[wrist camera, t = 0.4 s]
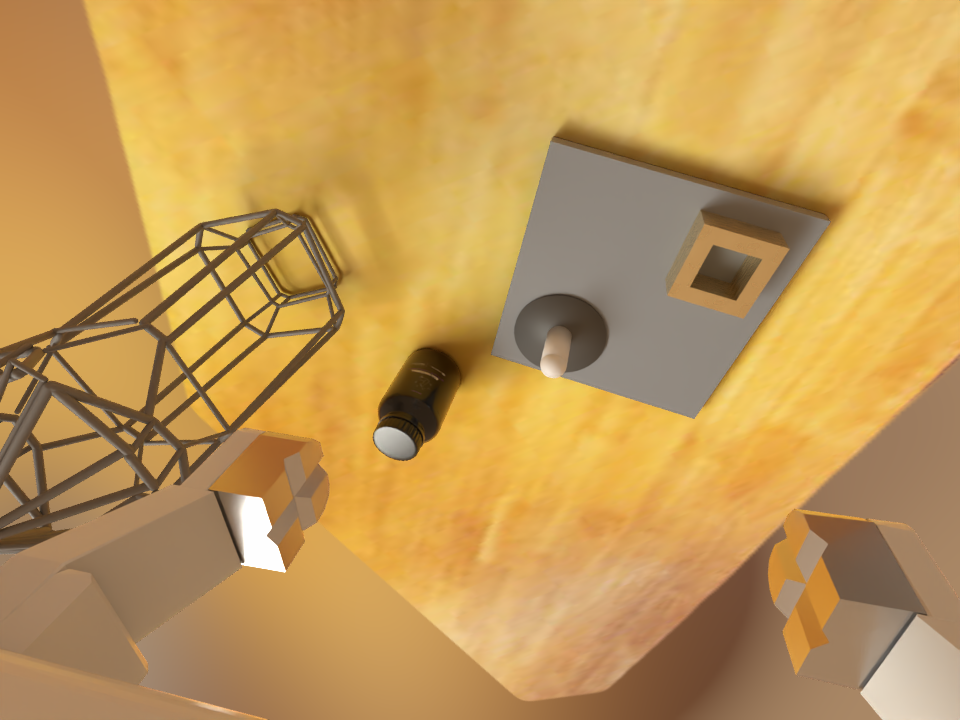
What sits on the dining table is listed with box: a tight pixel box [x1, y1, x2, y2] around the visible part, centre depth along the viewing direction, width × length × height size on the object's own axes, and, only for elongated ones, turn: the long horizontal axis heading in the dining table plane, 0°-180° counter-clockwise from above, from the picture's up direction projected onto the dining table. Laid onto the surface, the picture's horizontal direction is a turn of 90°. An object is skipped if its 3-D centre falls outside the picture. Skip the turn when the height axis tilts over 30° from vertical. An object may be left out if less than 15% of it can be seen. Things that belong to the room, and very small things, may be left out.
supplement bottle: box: [373, 349, 461, 461], centre depth 54 cm, size 7×7×12 cm
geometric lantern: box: [0, 209, 345, 554], centre depth 40 cm, size 16×16×35 cm
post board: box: [491, 137, 831, 419], centre depth 44 cm, size 22×22×8 cm
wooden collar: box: [665, 210, 790, 319], centre depth 40 cm, size 6×6×3 cm
